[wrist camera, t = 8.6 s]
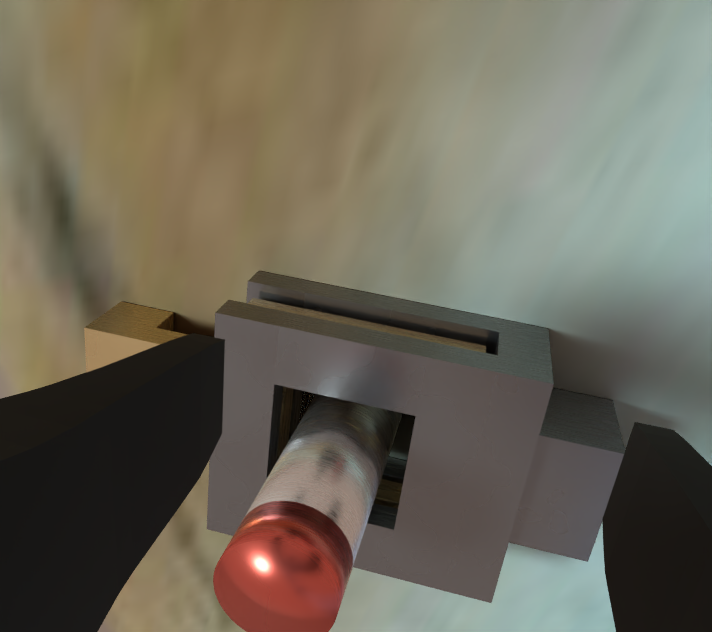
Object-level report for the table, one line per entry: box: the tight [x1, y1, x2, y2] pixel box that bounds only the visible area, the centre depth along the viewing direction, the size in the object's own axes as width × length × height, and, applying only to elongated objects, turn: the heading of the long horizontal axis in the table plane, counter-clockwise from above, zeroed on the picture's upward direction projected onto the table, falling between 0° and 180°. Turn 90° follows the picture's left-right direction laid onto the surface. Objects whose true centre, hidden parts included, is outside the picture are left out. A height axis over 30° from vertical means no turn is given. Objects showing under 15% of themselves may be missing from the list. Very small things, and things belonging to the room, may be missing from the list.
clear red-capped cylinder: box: [213, 394, 402, 632], centre depth 20 cm, size 3×3×9 cm
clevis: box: [84, 271, 625, 603], centre depth 22 cm, size 17×8×4 cm, turn 82°
